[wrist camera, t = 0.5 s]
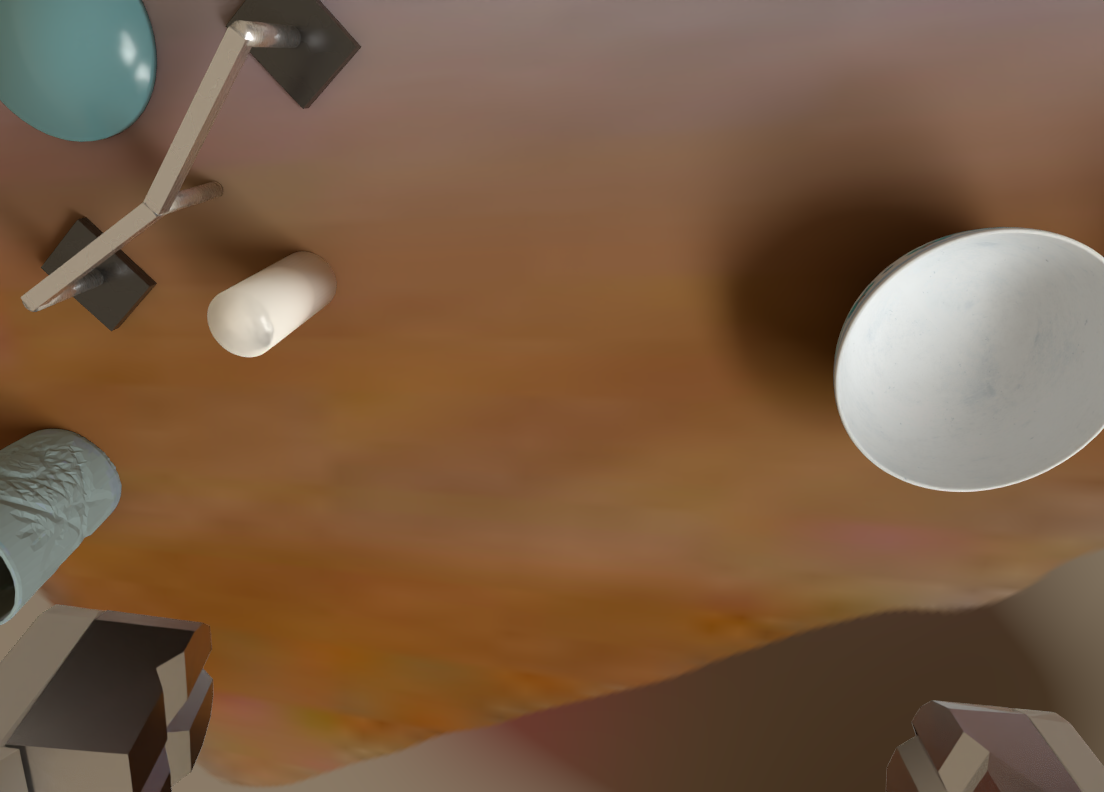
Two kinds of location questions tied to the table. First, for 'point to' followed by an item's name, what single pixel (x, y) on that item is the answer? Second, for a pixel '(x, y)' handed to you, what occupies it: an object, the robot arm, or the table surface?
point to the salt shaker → (271, 303)
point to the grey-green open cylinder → (48, 508)
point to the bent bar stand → (195, 151)
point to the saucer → (76, 65)
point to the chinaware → (976, 359)
